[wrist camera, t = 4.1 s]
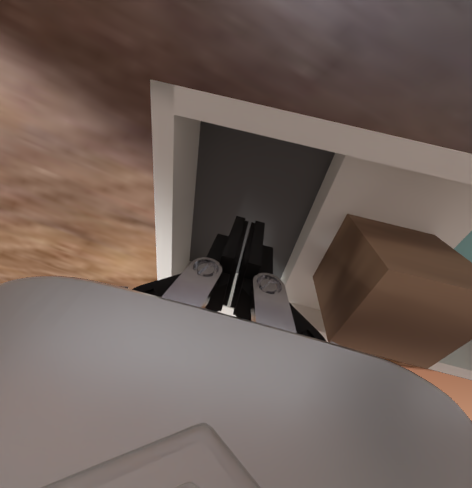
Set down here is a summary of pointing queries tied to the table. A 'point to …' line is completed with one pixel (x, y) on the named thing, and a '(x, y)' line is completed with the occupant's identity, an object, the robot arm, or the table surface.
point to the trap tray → (294, 188)
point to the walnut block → (394, 292)
